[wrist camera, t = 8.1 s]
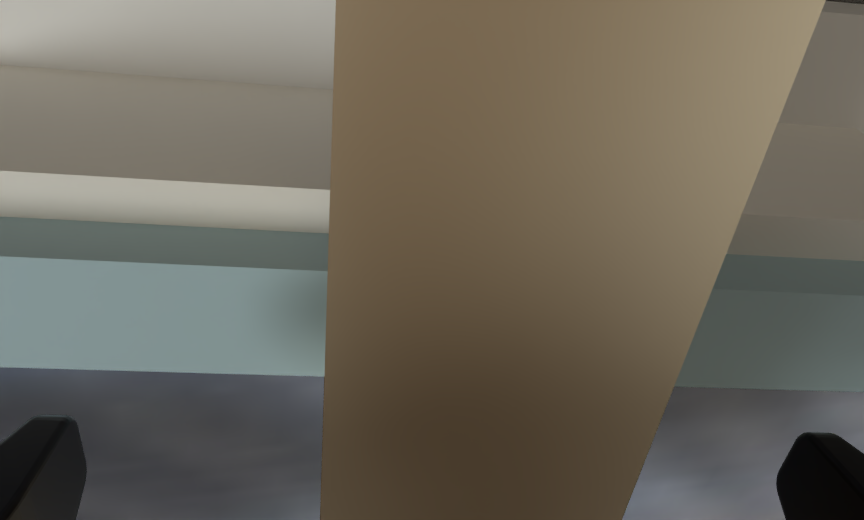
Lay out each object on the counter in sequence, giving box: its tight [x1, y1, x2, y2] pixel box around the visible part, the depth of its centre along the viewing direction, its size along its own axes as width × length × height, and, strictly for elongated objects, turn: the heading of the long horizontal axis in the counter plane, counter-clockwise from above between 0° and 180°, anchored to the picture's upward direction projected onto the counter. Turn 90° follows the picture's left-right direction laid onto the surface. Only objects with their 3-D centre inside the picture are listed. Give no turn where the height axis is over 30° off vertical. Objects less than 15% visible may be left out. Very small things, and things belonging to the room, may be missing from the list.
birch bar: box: [320, 0, 826, 520], centre depth 9 cm, size 3×20×4 cm, turn 174°
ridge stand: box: [0, 0, 864, 392], centre depth 13 cm, size 8×20×6 cm, turn 84°
